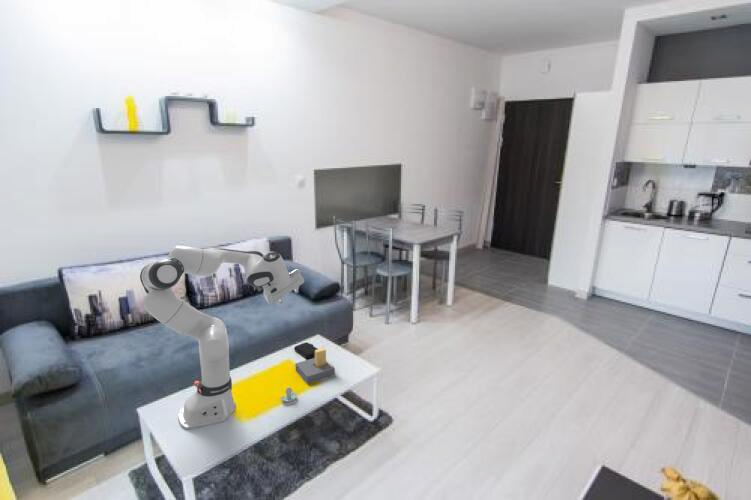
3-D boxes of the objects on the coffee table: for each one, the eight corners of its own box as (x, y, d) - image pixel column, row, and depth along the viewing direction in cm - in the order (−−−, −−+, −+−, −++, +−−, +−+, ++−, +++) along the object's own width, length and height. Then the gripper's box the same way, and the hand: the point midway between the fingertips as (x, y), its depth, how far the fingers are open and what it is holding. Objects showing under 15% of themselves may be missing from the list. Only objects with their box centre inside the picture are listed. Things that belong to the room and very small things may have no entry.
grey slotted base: (307, 384, 193) (307, 375, 192) (295, 370, 204) (295, 362, 203) (334, 375, 201) (334, 367, 200) (322, 362, 213) (322, 354, 211)
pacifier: (300, 402, 180) (294, 395, 185) (300, 390, 178) (294, 383, 183) (284, 407, 176) (279, 400, 180) (284, 395, 174) (279, 388, 179)
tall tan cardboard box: (316, 373, 202) (316, 352, 199) (314, 371, 204) (314, 350, 201) (325, 371, 205) (325, 349, 202) (323, 368, 207) (323, 347, 204)
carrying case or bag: (323, 354, 221) (308, 344, 232) (323, 349, 221) (308, 340, 231) (307, 361, 214) (292, 350, 224) (307, 356, 213) (292, 345, 224)
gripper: (296, 263, 193) (302, 282, 203) (258, 287, 185) (267, 305, 195) (303, 270, 189) (309, 289, 199) (265, 295, 181) (274, 313, 191)
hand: (288, 297), depth 197 cm, fingers open, 8 cm apart
